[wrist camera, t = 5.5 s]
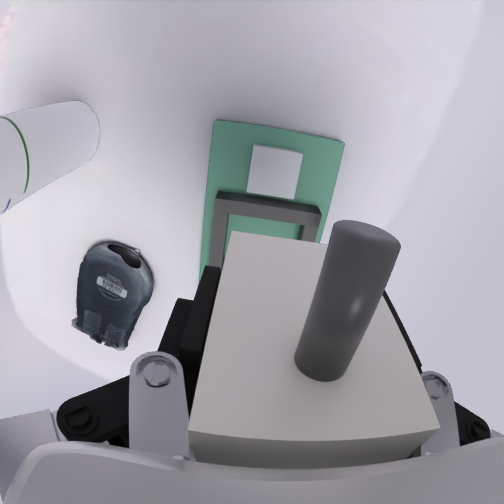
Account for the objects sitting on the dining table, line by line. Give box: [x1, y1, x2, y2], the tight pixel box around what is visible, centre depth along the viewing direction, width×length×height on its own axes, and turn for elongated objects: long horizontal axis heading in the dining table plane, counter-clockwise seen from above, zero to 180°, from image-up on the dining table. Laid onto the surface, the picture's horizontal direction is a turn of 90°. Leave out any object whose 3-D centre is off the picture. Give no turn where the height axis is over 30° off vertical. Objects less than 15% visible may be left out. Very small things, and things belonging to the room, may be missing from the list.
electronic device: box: [72, 243, 153, 351], centre depth 33 cm, size 9×6×15 cm
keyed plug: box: [188, 220, 441, 469], centre depth 8 cm, size 8×5×8 cm, turn 172°
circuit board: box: [199, 120, 345, 282], centre depth 28 cm, size 20×11×4 cm, turn 172°
